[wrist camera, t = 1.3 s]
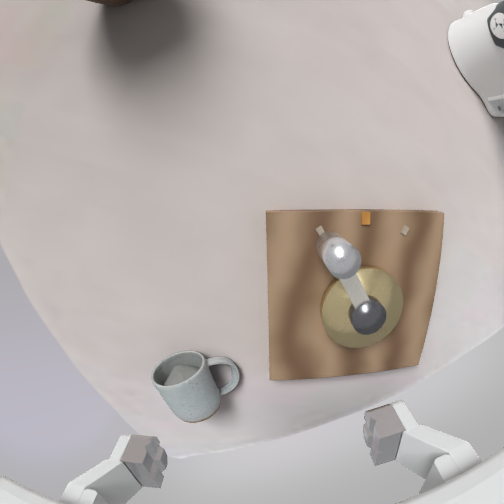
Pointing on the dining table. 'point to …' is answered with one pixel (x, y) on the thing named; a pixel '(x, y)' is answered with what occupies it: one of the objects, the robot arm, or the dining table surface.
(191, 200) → the dining table surface
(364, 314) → the brass and silver crank
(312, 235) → the brown flat wooden board
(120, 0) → the plant pot
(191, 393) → the ceramic mug
